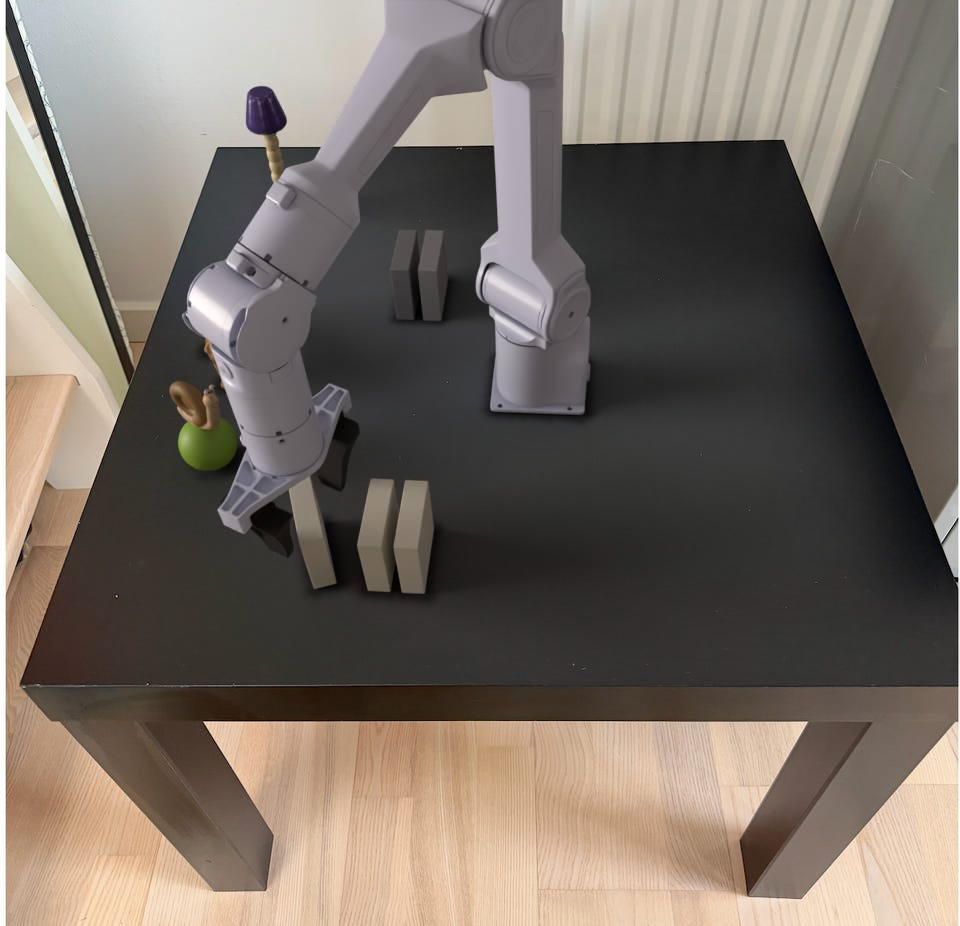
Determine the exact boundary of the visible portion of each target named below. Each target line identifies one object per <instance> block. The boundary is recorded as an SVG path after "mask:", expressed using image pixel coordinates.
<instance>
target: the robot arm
mask: <svg viewBox="0 0 960 926" xmlns="http://www.w3.org/2000/svg"><path fill="white" fill-rule="evenodd" d="M563 3H564V1H563V0H384V2H383V12H384V13H383V14H384V15H383V16H384V31H383V34H382V36H381V37H380V40H379V41H378V43H377V44H376V46H375V48H374V51H372V54H371V56H370V58H369V60H368V61H367V63H366V64H365V67H364V69H363V70H362V72H361V73H360V76H359V78H358V79H357V81H356V83H355V85H354V87H353V89H352V90H351V92H350V94H349V96H348V97H347V99H346V101H345V103H344V105H343V106H342V108H341V110H340V112H339V114H338V115H337V117H336V119H335V121H334V123H333V124H332V126H331V128H330V130H329V132H328V133H327V136H326V137H325V139H324V141H323V143H322V145H321V146H320V148H319V150H318V152H317V154H316V155H315V156H314V159H312V160H310V161H307V162H303V163H299V164H295V165H290V166H288V167H286V168H284V172H283V174H282V175H281V177H280V179H279V180H278V181H275V182H273V184H272V185H271V187H270V188H269V189H268V191H267V193H266V194H265V199H264V201H263V203H262V204H261V205H260V207H259V209H258V210H257V212H255V214H254V216H253V218H252V219H251V221H250V222H249V224H248V225H247V227H246V228H245V229H244V232H243V233H242V235H241V236H240V238H239V239H238V242H236V244H235V245H234V246H233V248H232V250H231V251H230V252H229V254H228V255H227V257H226V259H223V260H221V261H216V262H213V263H211V264H209V265H208V266H206V267H205V268H203V269H202V270H200V271H199V273H198V274H197V275H196V276H195V278H194V279H193V280H192V283H191V284H190V286H189V288H188V291H187V292H188V293H187V298H186V305H187V307H186V308H187V309H186V311H184V312H183V314H182V315H181V316H182V317H181V319H182V320H183V322H184V324H186V326H187V328H188V329H190V330H191V331H192V332H193V333H195V334H196V335H198V336H200V337H202V338H206V339H208V340H209V341H210V343H211V345H210V346H211V350H212V353H213V355H214V358H215V361H216V364H217V366H218V369H219V372H220V375H219V377H220V376H221V377H220V379H222V380H221V382H223V385H224V387H225V389H224V390H225V392H226V396H227V398H228V401H229V405H230V406H231V410H232V412H233V415H234V417H235V420H236V423H237V426H238V429H239V431H240V433H241V434H240V436H239V439H240V443H241V445H242V446H243V447H245V448H246V450H245V452H244V454H243V457H242V460H241V462H240V464H239V467H238V470H237V472H236V475H235V477H234V480H233V482H232V485H231V486H230V489H229V491H227V492H226V493H225V495H224V496H223V497H222V499H221V500H220V502H219V507H218V508H217V512H218V515H219V517H220V519H221V522H222V524H223V526H225V527H227V528H230V529H231V530H234V531H236V532H238V533H240V534H242V535H246V534H247V532H249V530H251V531H252V532H253V533H254V534H255V535H256V536H257V537H258V538H259V539H260V540H261V541H262V542H263V543H264V544H265V546H266V547H267V548H268V549H269V550H270V551H272V552H273V553H276V554H278V555H279V556H282V557H285V558H286V559H289V558H290V557H291V556H292V554H293V553H294V551H295V550H294V549H295V546H294V543H293V539H292V535H291V522H292V518H294V514H293V512H290V511H287V510H286V509H283V508H280V507H278V506H277V505H276V503H275V502H274V501H273V500H275V499H277V498H278V497H280V496H281V495H283V494H284V493H286V492H287V491H289V489H290V488H292V487H293V486H295V485H296V484H298V483H300V482H301V481H303V480H304V479H306V478H307V477H309V476H312V475H313V474H314V473H316V476H317V478H318V480H319V483H320V484H321V485H323V486H326V487H327V488H330V489H333V490H335V491H337V492H340V493H341V492H342V491H343V490H344V489H345V488H346V481H347V474H348V468H349V461H350V459H351V458H350V457H351V455H352V454H351V453H352V451H353V448H354V445H355V443H356V441H357V439H358V437H360V434H361V429H360V425H359V423H358V422H357V421H355V420H354V419H352V418H350V417H346V416H345V415H346V414H348V412H349V411H350V410H351V409H352V407H353V405H352V401H351V400H352V399H351V396H350V391H349V390H348V389H345V388H343V387H340V386H337V385H336V384H333V383H328V384H327V385H325V386H324V388H322V390H320V391H319V392H318V393H316V394H315V395H312V391H311V388H310V387H311V386H310V384H309V379H308V375H307V371H306V367H305V363H304V360H303V355H302V353H301V348H302V347H303V346H304V344H305V343H306V341H307V339H308V336H309V333H310V329H311V316H312V313H313V309H314V308H315V306H316V305H317V303H316V301H317V297H318V296H317V295H316V294H314V292H315V291H316V289H317V288H318V287H319V285H320V284H321V282H322V280H323V279H324V277H325V276H326V274H327V273H328V271H329V270H330V268H331V267H332V265H333V264H334V263H335V261H336V259H337V258H338V257H339V255H340V253H341V252H342V250H343V249H344V247H345V246H346V245H347V243H348V242H349V240H350V238H351V237H352V235H353V234H354V232H355V231H356V229H358V226H359V225H360V223H361V213H360V204H359V192H360V190H362V188H363V186H364V185H365V184H366V183H367V181H368V180H369V179H370V178H371V176H372V175H373V174H374V172H375V171H376V170H377V169H378V168H379V166H380V165H381V164H382V162H383V161H384V160H385V158H386V157H387V156H388V154H389V153H390V152H391V150H393V148H394V146H395V145H396V144H397V143H398V142H399V140H400V139H401V138H402V137H403V135H404V134H405V133H406V131H407V130H408V129H409V128H410V126H411V125H412V124H413V123H414V121H415V120H416V118H417V117H418V116H419V115H420V113H421V112H422V111H423V110H424V108H425V107H426V106H427V104H428V103H429V102H430V101H431V99H433V98H435V97H436V98H437V97H445V96H453V95H462V94H463V95H464V94H471V93H478V92H479V93H480V92H483V91H486V90H488V87H489V86H488V82H487V78H486V75H485V71H488V72H489V74H490V91H491V110H492V112H491V113H492V130H493V132H492V133H493V151H494V169H495V189H496V209H497V229H498V230H497V231H496V232H494V233H493V234H492V235H491V236H490V237H489V238H488V239H487V240H486V241H485V242H484V243H483V244H482V246H481V248H480V265H479V267H478V271H477V273H476V279H475V292H476V296H477V297H478V299H479V300H480V301H481V302H483V303H484V304H487V305H488V308H489V309H488V311H489V312H488V313H489V317H492V318H493V320H494V331H495V332H494V333H495V336H494V337H495V357H494V368H493V375H492V376H493V377H492V384H491V385H492V386H491V395H490V404H489V408H490V411H491V412H495V413H496V412H498V413H522V414H544V415H546V414H547V415H571V416H573V415H574V416H582V415H584V413H585V411H586V397H587V396H586V395H587V383H588V382H590V378H591V377H590V376H591V363H590V362H589V357H590V337H591V335H590V334H591V317H590V316H588V314H589V310H590V308H591V303H592V297H591V296H592V291H591V287H590V285H589V283H588V282H587V279H586V265H585V263H584V262H583V260H582V258H581V257H580V256H579V255H578V254H577V253H576V251H575V250H574V249H573V247H572V246H571V245H570V243H568V241H567V239H565V238H564V236H563V234H562V186H563V181H562V180H563V130H564V129H563V128H564V127H563V126H564V125H563V123H564V70H565V69H564V68H565V67H564V65H565V63H564V61H565V55H564V54H565V37H564V36H565V35H564V31H563V11H564V10H563V9H564V8H563V7H564V6H563V5H564V4H563ZM206 339H205V340H206Z"/></svg>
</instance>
